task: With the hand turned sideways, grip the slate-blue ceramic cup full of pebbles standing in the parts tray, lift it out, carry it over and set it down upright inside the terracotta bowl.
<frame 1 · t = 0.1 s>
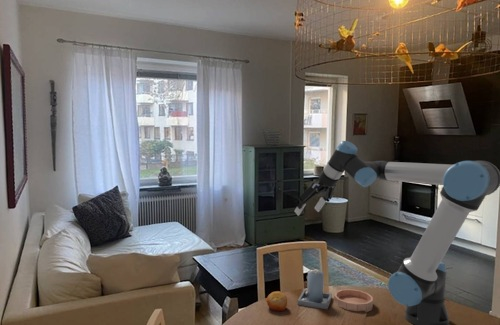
hand: (306, 211, 169), 36 cm above the table, tool tilted 35°, fingers open, 13 cm apart
bowl: (353, 304, 157), on the table
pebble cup: (315, 301, 158), point 1 cm above the table, touching parts tray
fruit: (276, 310, 151), on the table
parts tray: (315, 303, 158), on the table
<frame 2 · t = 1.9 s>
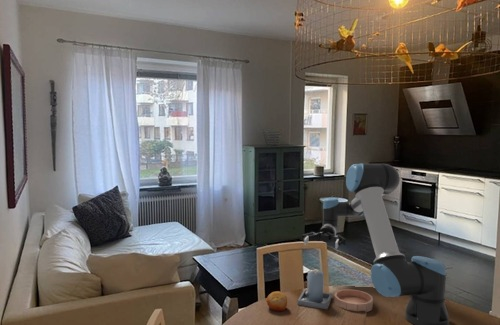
hand: (320, 244, 167), 22 cm above the table, tool horizontal, fingers open, 13 cm apart
nothing on the table moved.
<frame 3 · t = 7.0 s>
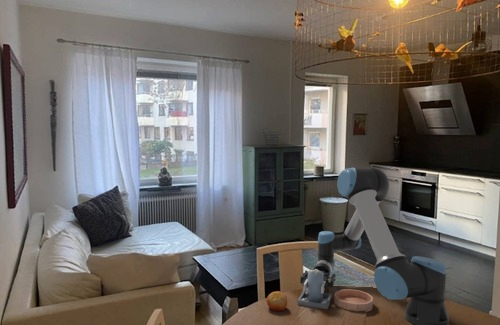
hand: (313, 288, 153), 8 cm above the table, tool horizontal, fingers closed on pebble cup, 6 cm apart
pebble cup: (315, 301, 158), point 1 cm above the table, touching gripper, parts tray
everything else where it was.
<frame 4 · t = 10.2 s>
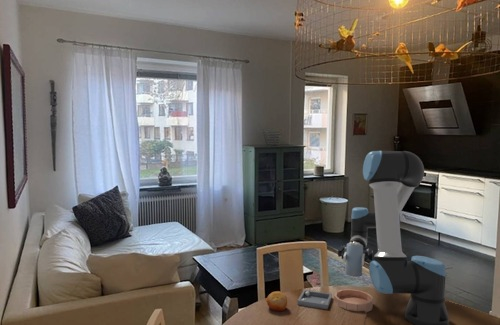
hand: (353, 260, 151), 20 cm above the table, tool horizontal, fingers closed on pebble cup, 6 cm apart
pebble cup: (354, 273, 156), point 13 cm above the table, touching gripper
everything else where it was.
when the fingers open (9 cm above the table, at t = 13.3 s): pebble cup drops 1 cm, resting on bowl.
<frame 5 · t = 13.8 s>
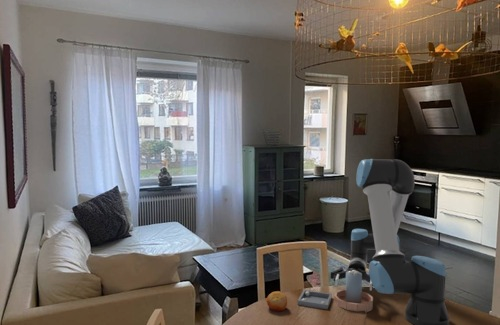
hand: (353, 284, 153), 9 cm above the table, tool horizontal, fingers open, 13 cm apart
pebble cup: (353, 302, 157), point 1 cm above the table, touching bowl
everything else where it was.
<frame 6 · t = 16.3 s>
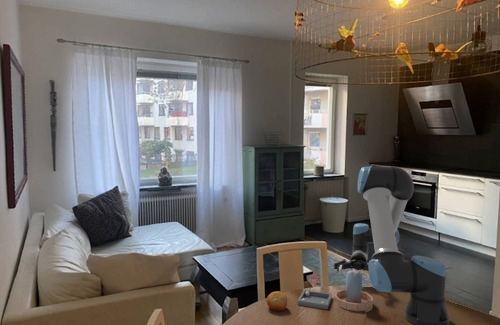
hand: (355, 274, 165), 10 cm above the table, tool horizontal, fingers open, 13 cm apart
nothing on the table moved.
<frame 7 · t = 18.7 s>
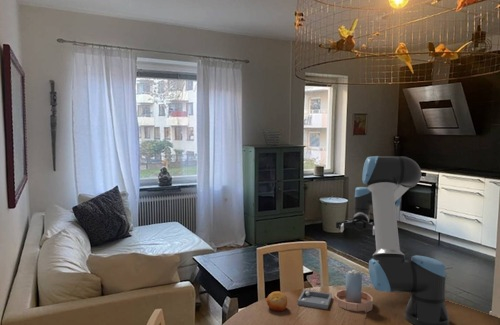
hand: (357, 230, 167), 28 cm above the table, tool horizontal, fingers open, 13 cm apart
nothing on the table moved.
at the end: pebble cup inside the target area on the bowl (0.1 cm from its centre), point 1.0 cm above the bowl's base; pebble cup tilted 0°; the gripper is holding nothing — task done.
